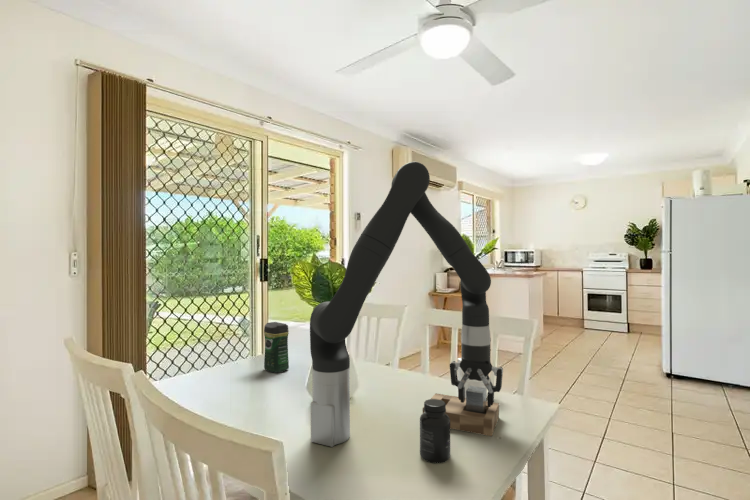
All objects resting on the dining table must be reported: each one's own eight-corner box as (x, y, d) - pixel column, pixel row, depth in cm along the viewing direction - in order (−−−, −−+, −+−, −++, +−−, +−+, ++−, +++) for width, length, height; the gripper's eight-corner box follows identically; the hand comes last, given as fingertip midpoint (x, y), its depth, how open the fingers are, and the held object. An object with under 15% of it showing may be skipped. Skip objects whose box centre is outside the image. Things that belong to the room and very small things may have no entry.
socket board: (491, 436, 96) (491, 420, 96) (422, 422, 104) (422, 408, 104) (498, 417, 107) (498, 403, 107) (435, 406, 115) (435, 393, 115)
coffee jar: (292, 370, 152) (292, 322, 152) (274, 374, 146) (274, 325, 146) (278, 365, 158) (278, 319, 158) (260, 369, 153) (260, 322, 153)
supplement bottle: (456, 461, 85) (455, 406, 85) (427, 466, 83) (427, 410, 83) (442, 446, 92) (441, 395, 92) (415, 451, 90) (414, 398, 90)
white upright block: (465, 403, 118) (464, 363, 118) (453, 392, 127) (452, 355, 127) (492, 400, 120) (491, 361, 120) (478, 390, 129) (478, 354, 129)
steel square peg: (483, 428, 101) (483, 393, 101) (466, 424, 103) (466, 390, 103) (486, 421, 105) (485, 388, 105) (469, 418, 107) (469, 385, 107)
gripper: (445, 341, 104) (445, 404, 104) (501, 347, 98) (502, 413, 98) (452, 336, 111) (453, 395, 111) (505, 341, 104) (506, 403, 104)
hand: (476, 403), depth 104 cm, fingers open, 6 cm apart
